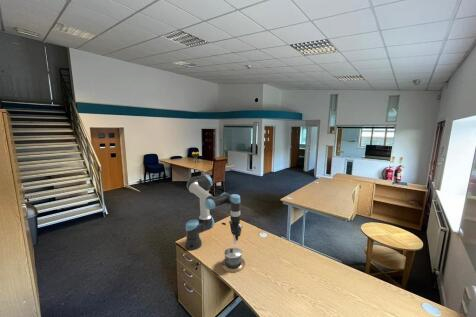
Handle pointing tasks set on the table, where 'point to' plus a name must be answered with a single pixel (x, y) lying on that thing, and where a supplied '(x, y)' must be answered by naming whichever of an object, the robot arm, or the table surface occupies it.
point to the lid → (233, 253)
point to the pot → (233, 264)
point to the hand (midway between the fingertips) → (235, 243)
